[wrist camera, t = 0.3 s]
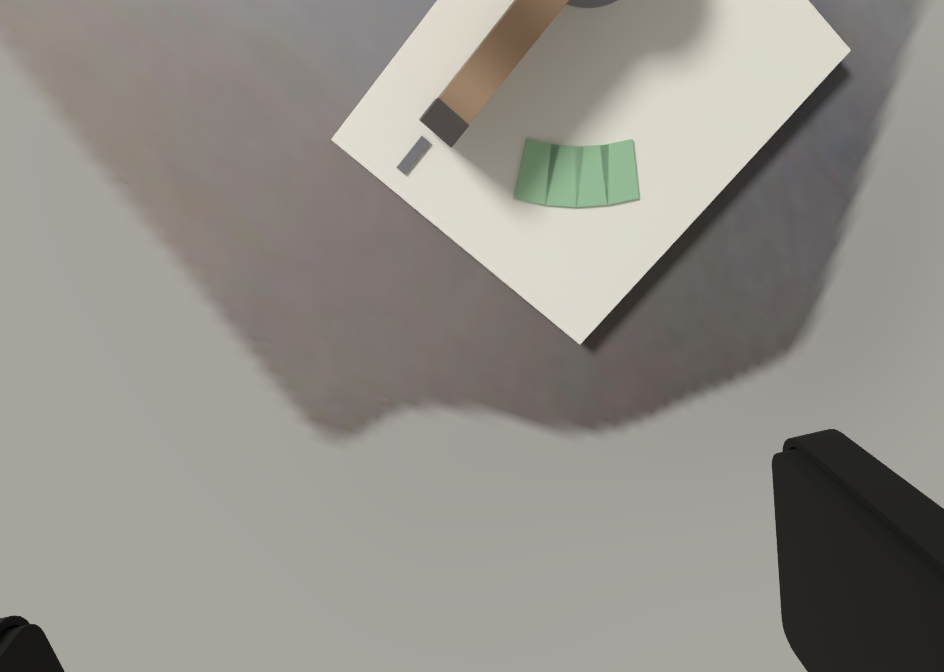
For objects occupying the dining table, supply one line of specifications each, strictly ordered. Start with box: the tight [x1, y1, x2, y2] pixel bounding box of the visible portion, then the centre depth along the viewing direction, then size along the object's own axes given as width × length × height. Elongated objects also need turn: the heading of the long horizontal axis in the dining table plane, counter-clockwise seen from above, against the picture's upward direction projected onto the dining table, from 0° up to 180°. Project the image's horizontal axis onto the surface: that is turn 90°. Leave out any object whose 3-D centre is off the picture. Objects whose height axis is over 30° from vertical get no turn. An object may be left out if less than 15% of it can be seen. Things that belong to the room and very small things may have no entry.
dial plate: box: [331, 0, 851, 344], centre depth 34 cm, size 20×17×2 cm
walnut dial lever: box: [419, 0, 569, 148], centre depth 29 cm, size 14×4×5 cm, turn 140°
